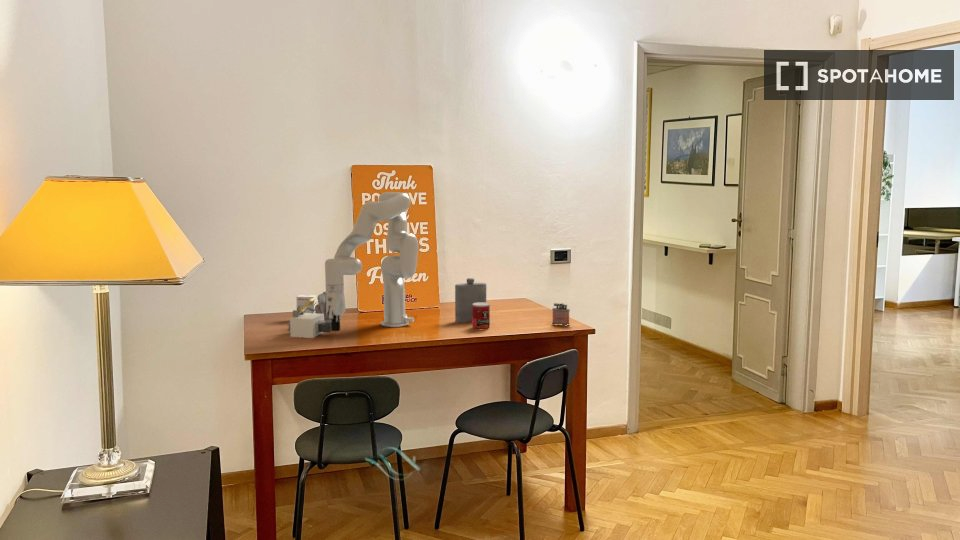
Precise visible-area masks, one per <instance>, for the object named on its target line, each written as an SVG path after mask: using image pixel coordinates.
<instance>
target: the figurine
mask: <svg viewBox="0 0 960 540" xmlns="http://www.w3.org/2000/svg"><path fill="white" fill-rule="evenodd" d="M326 296H327V292H326V291H323V292H322V293H320V294H318V295H317V305H316V306H315V312H316V314H324V323H331V319H329V316H328V315H327V313H326Z"/></svg>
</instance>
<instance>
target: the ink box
mask: <svg viewBox="0 0 960 540" xmlns="http://www.w3.org/2000/svg"><path fill="white" fill-rule="evenodd" d="M317 297H318V295H317V294H314V295H313V294H299V295H297V296H296V310H299V308H301V307H302V306H303V305H304V304H305V303H306V302H307V301H308V300H310V299H312V298H314V299H315V301H314V302H313V303H312V304H311V305H310V306H308V307H307V308H306V309H305V310H304V313H315V308H314V304H315V302H316V301H317V302H318V299H317Z"/></svg>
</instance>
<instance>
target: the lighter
mask: <svg viewBox="0 0 960 540" xmlns="http://www.w3.org/2000/svg"><path fill="white" fill-rule="evenodd" d="M551 310H552V322H551V325H552V324H562V325H567V324H569V325H570V311H571V310H570V308H568V304H566V303H565V304H564V303H562V302H561V303H558V302H557V303H556V302H554V303H553V307H552V308H551Z"/></svg>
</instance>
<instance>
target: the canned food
mask: <svg viewBox="0 0 960 540" xmlns="http://www.w3.org/2000/svg"><path fill="white" fill-rule="evenodd" d="M490 307H491V306H490V303H489V302H486V303H485V302H477V303H473V305H472V322H471V323H472V328H473V329H474V330H476V329H486V330H488V328H490V322H491V321H490V320H491V319H490V318H491V316H490V315H491V312H490V311H491V308H490Z"/></svg>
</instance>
